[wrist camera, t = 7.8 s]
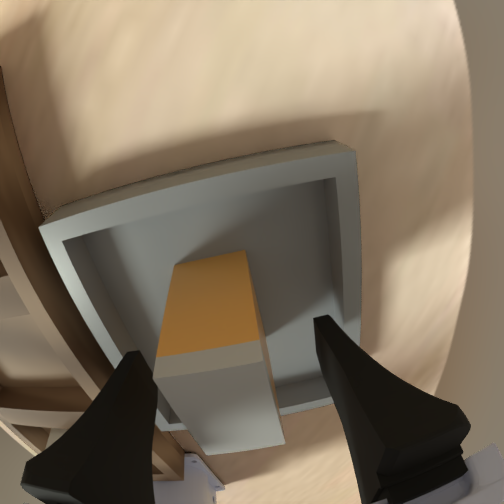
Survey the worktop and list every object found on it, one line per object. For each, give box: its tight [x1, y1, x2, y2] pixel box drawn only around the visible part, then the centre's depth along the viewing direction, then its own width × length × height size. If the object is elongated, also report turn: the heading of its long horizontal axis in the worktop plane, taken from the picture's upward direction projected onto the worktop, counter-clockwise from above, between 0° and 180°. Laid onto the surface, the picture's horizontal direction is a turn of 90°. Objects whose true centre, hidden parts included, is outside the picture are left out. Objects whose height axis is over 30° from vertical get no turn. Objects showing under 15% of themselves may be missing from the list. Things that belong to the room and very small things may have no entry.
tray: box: [38, 140, 362, 431], centre depth 14 cm, size 14×12×2 cm
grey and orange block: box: [153, 250, 286, 455], centre depth 12 cm, size 5×3×6 cm, turn 11°
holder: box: [0, 66, 185, 481], centre depth 14 cm, size 28×12×3 cm, turn 11°
